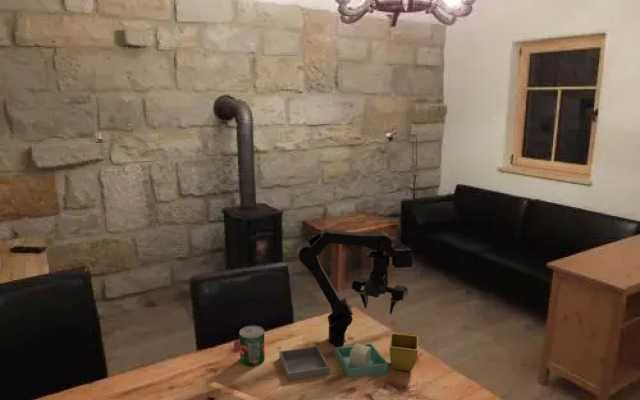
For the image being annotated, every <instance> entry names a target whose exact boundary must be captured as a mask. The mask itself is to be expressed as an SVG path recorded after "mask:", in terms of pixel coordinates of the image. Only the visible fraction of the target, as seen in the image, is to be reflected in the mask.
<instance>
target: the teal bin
mask: <svg viewBox="0 0 640 400" xmlns="http://www.w3.org/2000/svg"><path fill="white" fill-rule="evenodd" d="M360 344H361V343H360ZM355 345H356V344H355ZM355 345H348V346H340V347H335V348H334V356H335V358H336V360H337V361H338V363H339V365H340V366H341V368H342V369H343V372H344V373H345V375H346V376H347V378H355V377H360V376H366V375H368V378H371V377H372V378H373V377H376V376H382V375H387V374H388V371H389V369H388V368H389V363H388V362H387V361H386V359H385V358H384V357H383V356H382V354H381V353H380V352H379V351H378V349H377V348H376V346H375V345H374V344H373V343H372V342H369V343H364V344H363V343H362V344H361V345H365V346H368V347H371V360H370V363H369V364H368V365H367V366H364V367H356V366H353V365H350V350H351V349H352V348H353V347H354V346H355Z"/></svg>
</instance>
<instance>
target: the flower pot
mask: <svg viewBox="0 0 640 400" xmlns="http://www.w3.org/2000/svg"><path fill="white" fill-rule="evenodd" d="M418 352H419V337H418V335H413V334H412V335H411V334H403V333H394V332H392V333H390V341H389V359H390V360H389V361H390V363H391V366H392V367H393V369H394V370H396V371H397V370H399V371H405V372H411V371H412V370H413V369H414V367H415V365H416V362H417V358H418V357H417V356H418V354H419V353H418Z"/></svg>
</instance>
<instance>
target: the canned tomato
mask: <svg viewBox="0 0 640 400" xmlns="http://www.w3.org/2000/svg"><path fill="white" fill-rule="evenodd" d="M265 352H266V351H265V329H264V328H263V327H262V326H259V325H247V326H244V327H243V328H241V329H240V330H239V361H240V363H241V365H243V366H245V367H250V368H251V367H258V366H261V365H262V364H263V363H264V361H265V356H266V353H265Z"/></svg>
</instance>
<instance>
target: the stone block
mask: <svg viewBox="0 0 640 400" xmlns="http://www.w3.org/2000/svg"><path fill="white" fill-rule="evenodd" d="M353 346H354V345H353ZM370 360H371V347H368V346H365V345H361V343H357V342H356V343H355V346H354V347H353V348H352V349H351V350H350V365H353V366H356V367H364V366H367V365H368V364H369V363H370Z"/></svg>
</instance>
